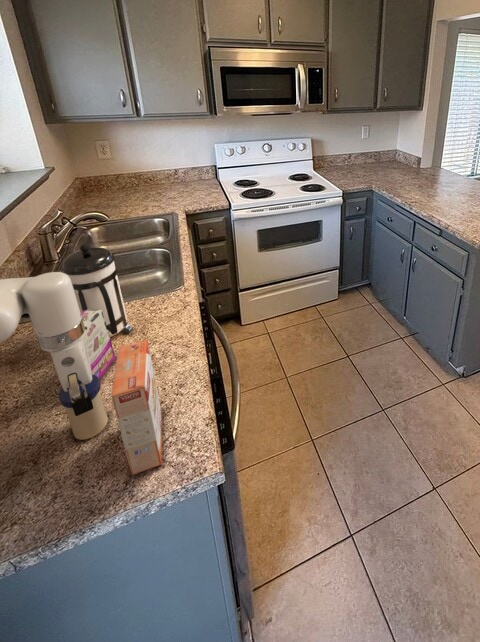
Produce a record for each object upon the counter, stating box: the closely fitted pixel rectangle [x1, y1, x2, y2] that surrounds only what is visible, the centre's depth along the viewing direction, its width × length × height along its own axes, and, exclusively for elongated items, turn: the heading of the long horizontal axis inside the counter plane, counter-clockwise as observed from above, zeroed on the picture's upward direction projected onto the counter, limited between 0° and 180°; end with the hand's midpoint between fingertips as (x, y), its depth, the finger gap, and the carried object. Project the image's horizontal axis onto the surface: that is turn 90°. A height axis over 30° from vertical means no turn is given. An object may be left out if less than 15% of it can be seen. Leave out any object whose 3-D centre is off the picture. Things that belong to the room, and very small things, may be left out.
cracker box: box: [110, 339, 163, 476], centre depth 73 cm, size 14×6×21 cm, turn 23°
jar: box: [64, 389, 109, 440], centre depth 78 cm, size 7×7×11 cm
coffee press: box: [60, 243, 133, 338], centre depth 104 cm, size 17×16×30 cm
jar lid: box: [58, 374, 102, 408], centre depth 76 cm, size 7×7×2 cm
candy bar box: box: [81, 310, 117, 381], centre depth 91 cm, size 11×5×16 cm, turn 0°
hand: (83, 398), depth 77 cm, fingers closed on jar lid, 7 cm apart
